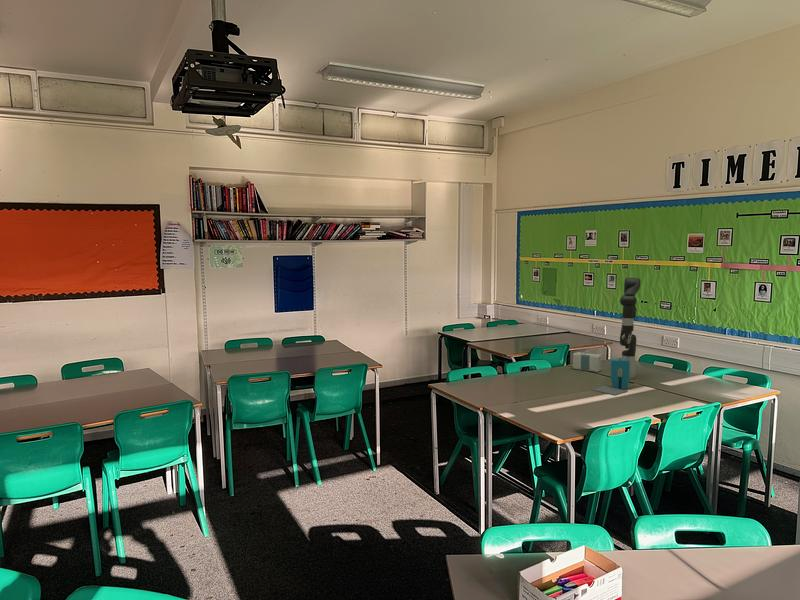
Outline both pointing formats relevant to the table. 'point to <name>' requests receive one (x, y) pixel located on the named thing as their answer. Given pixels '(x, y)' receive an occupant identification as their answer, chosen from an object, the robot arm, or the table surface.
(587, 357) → the stereo radio cassette player
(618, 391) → the mat
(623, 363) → the block
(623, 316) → the robot arm
